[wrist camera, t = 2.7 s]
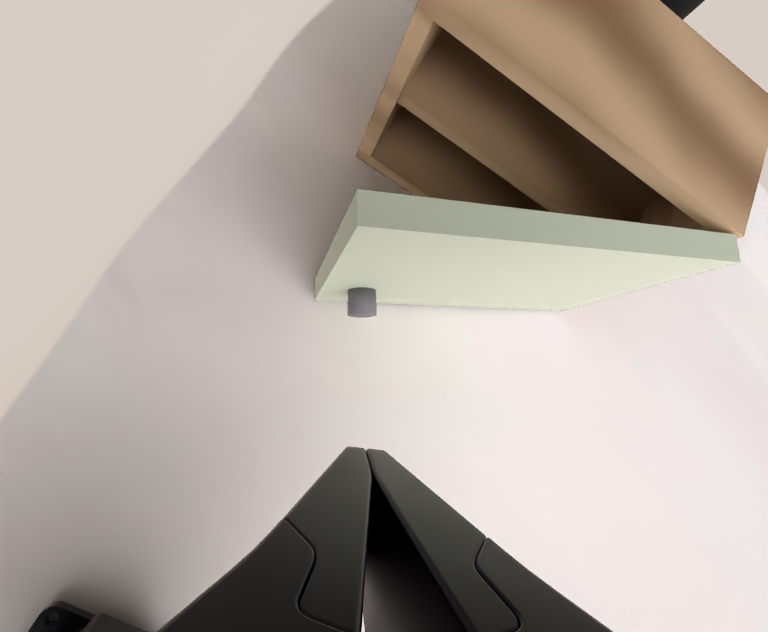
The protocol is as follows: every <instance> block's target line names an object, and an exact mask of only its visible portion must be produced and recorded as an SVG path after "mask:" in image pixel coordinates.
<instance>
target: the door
mask: <svg viewBox="0 0 768 632" xmlns="http://www.w3.org/2000/svg"><path fill="white" fill-rule="evenodd" d="M736 263H740V256H739V250H738V245H737V239H736V234H728V233H719V232H711V231H703V230H695V229H686V228H678V227H670V226H661V225H653V224H645V223H637V222H628V221H620V220H612V219H603V218H595V217H587V216H579V215H570V214H562V213H554V212H545V211H537V210H529V209H521V208H512V207H504V206H496V205H487V204H479V203H471V202H463V201H454V200H446V199H438V198H429V197H421V196H413V195H405V194H396V193H388V192H380V191H371V190H363V189H357V191H356V193H355V195H354V197H353V199H352V201H351V203H350V205H349V207H348V210H347V212H346V214H345V216H344V218H343V220H342V222H341V224H340V227H339V229H338V231H337V233H336V235H335V237H334V239H333V241H332V243H331V246H330V248H329V250H328V252H327V254H326V256H325V258H324V260H323V262H322V265H321V267H320V269H319V271H318V273H317V275H316V277H315V287H314V301H335V302H348V316H352V317H371V316H375V315H376V303H383V304H407V305H431V306H455V307H479V308H503V309H526V310H550V311H564V310H568V309H571V308H575V307H579V306H582V305H586V304H590V303H593V302H597V301H601V300H604V299H608V298H612V297H615V296H619V295H623V294H626V293H630V292H634V291H637V290H641V289H645V288H648V287H652V286H656V285H659V284H663V283H667V282H670V281H674V280H678V279H681V278H685V277H689V276H692V275H696V274H700V273H703V272H707V271H711V270H714V269H718V268H722V267H725V266H729V265H733V264H736Z"/></svg>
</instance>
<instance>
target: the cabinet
mask: <svg viewBox="0 0 768 632" xmlns="http://www.w3.org/2000/svg"><path fill="white" fill-rule="evenodd" d="M767 147H768V93H767V92H765V91H764V90H763V89H762V88H761V87H760V86H758V85H757V84H756V83H755V82H754V81H752V80H751V79H750V78H749V77H748V76H747V75H746V74H744V73H743V72H742V71H741V70H740V69H739V68H738V67H736V66H735V65H734V64H733V63H732V62H731V61H729V60H728V59H727V58H726V57H725V56H724V55H723V54H721V53H720V52H719V51H718V50H716V48H714V47H713V46H712V45H711V44H710V43H708V42H707V41H706V40H705V39H704V38H703V37H702V36H700V35H699V34H698V33H697V32H696V31H695V30H693V29H692V28H691V27H690V26H689V25H688V24H687V23H685V22H684V21H683V20H682V19H681V18H680V17H678V16H677V15H676V14H675V13H674V12H673V11H672V10H670V9H669V8H668V7H667V6H666V5H665V4H663V3H662V2H661V1H660V0H419V1H418V3H417V6H416V8H415V10H414V13H413V15H412V18H411V20H410V23H409V25H408V28H407V30H406V33H405V35H404V38H403V40H402V43H401V45H400V48H399V50H398V53H397V55H396V58H395V60H394V63H393V65H392V68H391V70H390V73H389V75H388V78H387V80H386V83H385V85H384V88H383V90H382V93H381V95H380V98H379V100H378V103H377V105H376V107H375V110H374V112H373V115H372V117H371V120H370V122H369V125H368V127H367V130H366V132H365V135H364V137H363V140H362V142H361V145H360V147H359V150H358V152H357V155H356V156H357V157H358V158H360V159H361V160H363V161H364V162H366V163H367V164H369V165H370V166H372V167H373V168H375V169H376V170H378V171H379V172H380V173H382V174H383V175H385V176H386V177H388V178H389V179H391V180H392V181H394V182H395V183H397V184H398V185H400V186H401V187H403V188H404V189H405V190H407V191H408V192H410V193H411V194H413V195H414V196H421V197H429V198H438V199H446V200H454V201H463V202H471V203H479V204H487V205H496V206H504V207H512V208H521V209H529V210H537V211H545V212H554V213H562V214H570V215H579V216H587V217H595V218H603V219H612V220H620V221H628V222H637V223H645V224H653V225H661V226H670V227H678V228H686V229H695V230H703V231H711V232H719V233H728V234H736V238H739V237H743V236H744V234H745V230H746V226H747V222H748V218H749V215H750V211H751V207H752V203H753V200H754V196H755V192H756V188H757V185H758V181H759V177H760V173H761V169H762V166H763V162H764V158H765V154H766V151H767Z"/></svg>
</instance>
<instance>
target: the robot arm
mask: <svg viewBox="0 0 768 632" xmlns="http://www.w3.org/2000/svg"><path fill="white" fill-rule="evenodd" d="M50 613H56V614H58V616H59V620H58V621H56V622H52V621H51V620H49V614H50ZM362 614H363V617H364V626H365V632H613V631H611V630H610V629H609V628H607V627H606V626H604V625H603V624H602V623H600V622H599V621H598V620H596V619H595V618H593V617H592V616H591V615H589V614H588V613H586V612H585V611H584V610H582V609H581V608H580V607H578V606H577V605H575V604H574V603H573V602H571V601H570V600H568V599H567V598H566V597H564V596H563V595H562V594H560V593H559V592H557V591H556V590H555V589H553V588H552V587H551V586H549V585H548V584H547V583H545V582H544V581H543V580H541V579H540V578H539V577H537V576H536V575H535V574H533V573H532V572H530V571H529V570H528V569H527V568H525V567H524V566H523V565H522V564H520V563H519V562H518V561H517V560H515V559H514V558H513V557H512V556H510V555H509V554H508V553H507V552H505V551H504V550H503V549H502V548H501V547H499V546H498V545H497V544H496V543H495V542H494V541H492V540H491V539H490V538H486V536H485V535H484V534H483V533H482V532H481V531H479V530H478V529H477V528H476V527H475V526H473V525H472V524H471V523H470V522H469V521H467V520H466V519H465V518H464V517H463V516H461V515H460V514H459V513H458V512H457V511H456V510H454V509H453V508H452V507H451V506H450V505H448V504H447V503H446V502H445V501H444V500H442V499H441V498H440V497H439V496H438V495H437V494H435V493H434V492H433V491H432V490H431V489H429V488H428V487H427V486H426V485H425V484H423V483H422V482H421V481H420V480H419V479H417V478H416V477H415V476H414V475H413V474H412V473H410V472H409V471H408V470H407V469H406V468H404V467H403V466H402V465H401V464H400V463H398V462H397V461H396V460H395V459H394V458H392V457H391V456H390V455H389V454H388V453H387V452H385V451H383V450H375V449H367V450H366V451H365V449H364V448H358V447H346V448H345V449H344V450H343V452H342V453H341V454H340V455H339V456H338V457H337V458H336V460H335V461H334V462H333V463H332V464H331V465H330V466H329V467H328V469H327V470H326V471H325V472H324V473H323V474H322V475H321V476H320V478H319V479H318V480H317V481H316V482H315V483H314V484H313V485H312V487H311V488H310V489H309V490H308V491H307V492H306V493H305V494H304V496H303V497H302V498H301V499H300V500H299V501H298V502H297V503H296V505H295V506H294V507H293V508H292V509H291V510H290V511H289V512H288V514H287V515H286V516H285V517H284V518H283V519H282V520H281V521H280V522H279V523H278V524H277V525H276V526H275V527H274V529H273V530H272V531H271V532H270V533H269V534H268V535H267V536H266V537H265V538H264V539H263V540H262V541H261V542H260V543H259V544H258V545H257V546H256V547H255V548H254V549H253V550H252V551H251V552H250V553H249V554H248V555H247V556H246V557H244V558H243V559H242V560H241V561H240V562H239V563H238V564H237V565H235V566H234V567H233V568H232V569H231V570H230V571H229V572H227V573H226V574H225V575H224V576H223V577H221V578H220V579H219V580H218V581H217V582H215V583H214V584H213V585H212V586H211V587H209V588H208V589H207V590H206V591H205V592H204V593H202V594H201V595H200V596H199V597H198V598H196V599H195V600H194V601H193V602H192V603H190V604H189V605H188V606H187V607H186V608H184V609H183V610H182V611H181V612H180V613H179V614H177V615H176V616H175V617H174V618H173V619H171V620H170V621H169V622H168V623H167V624H165V625H164V626H163V627H162V628H161V629H159V630H158V631H157V632H361V628H362ZM28 632H145V631H143V630H140V629H138V628H136V627H133V626H131V625H129V624H126V623H124V622H122V621H120V620H117V619H115V618H113V617H110V616H108V615H106V614H103V613H102V614H99V615H96V616H95V615H93V614H91V613H88V612H86V611H84V610H81V609H79V608H77V607H74V606H72V605H70V604H67V603H65V602H60V601H58V602H54V603H52V604H50V605H48V606H47V607H46V608H45V609H44V610H43V612H42V613H41V614H40V615H39V616H38V618H37V619H36V621H35V622H34V624H33V625H32V627H31V628H30V630H29V631H28Z"/></svg>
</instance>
